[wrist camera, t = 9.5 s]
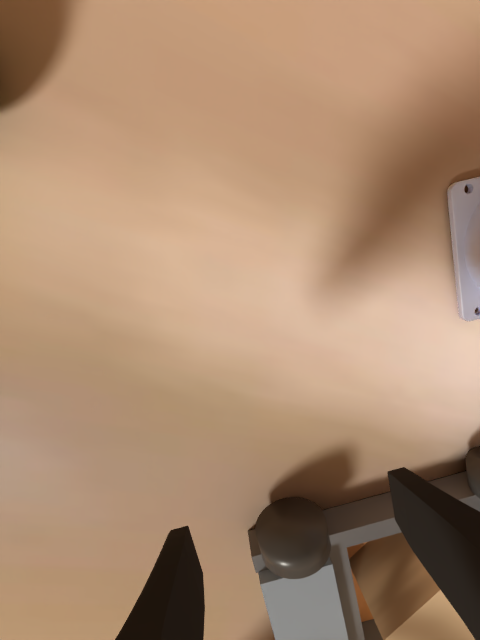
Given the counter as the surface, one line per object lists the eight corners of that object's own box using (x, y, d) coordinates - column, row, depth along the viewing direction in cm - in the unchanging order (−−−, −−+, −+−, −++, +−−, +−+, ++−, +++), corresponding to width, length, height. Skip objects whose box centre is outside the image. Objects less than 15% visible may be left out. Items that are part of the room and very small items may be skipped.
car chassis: (518, 435, 24) (584, 474, 19) (528, 600, 27) (586, 664, 23) (242, 509, 23) (250, 567, 19) (285, 671, 26) (300, 751, 22)
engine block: (395, 515, 24) (444, 586, 19) (445, 559, 25) (503, 635, 20) (347, 560, 24) (383, 640, 19) (398, 601, 25) (444, 686, 20)
